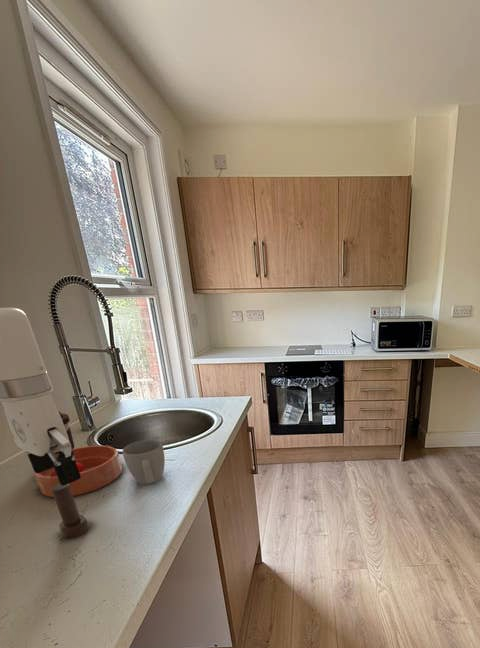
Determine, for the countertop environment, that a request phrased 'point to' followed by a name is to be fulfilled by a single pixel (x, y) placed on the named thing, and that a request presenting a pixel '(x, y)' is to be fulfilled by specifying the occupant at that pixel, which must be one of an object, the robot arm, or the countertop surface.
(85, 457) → the bowl
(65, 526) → the pestle
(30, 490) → the countertop surface
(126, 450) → the mug
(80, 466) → the tomato
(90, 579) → the countertop surface
